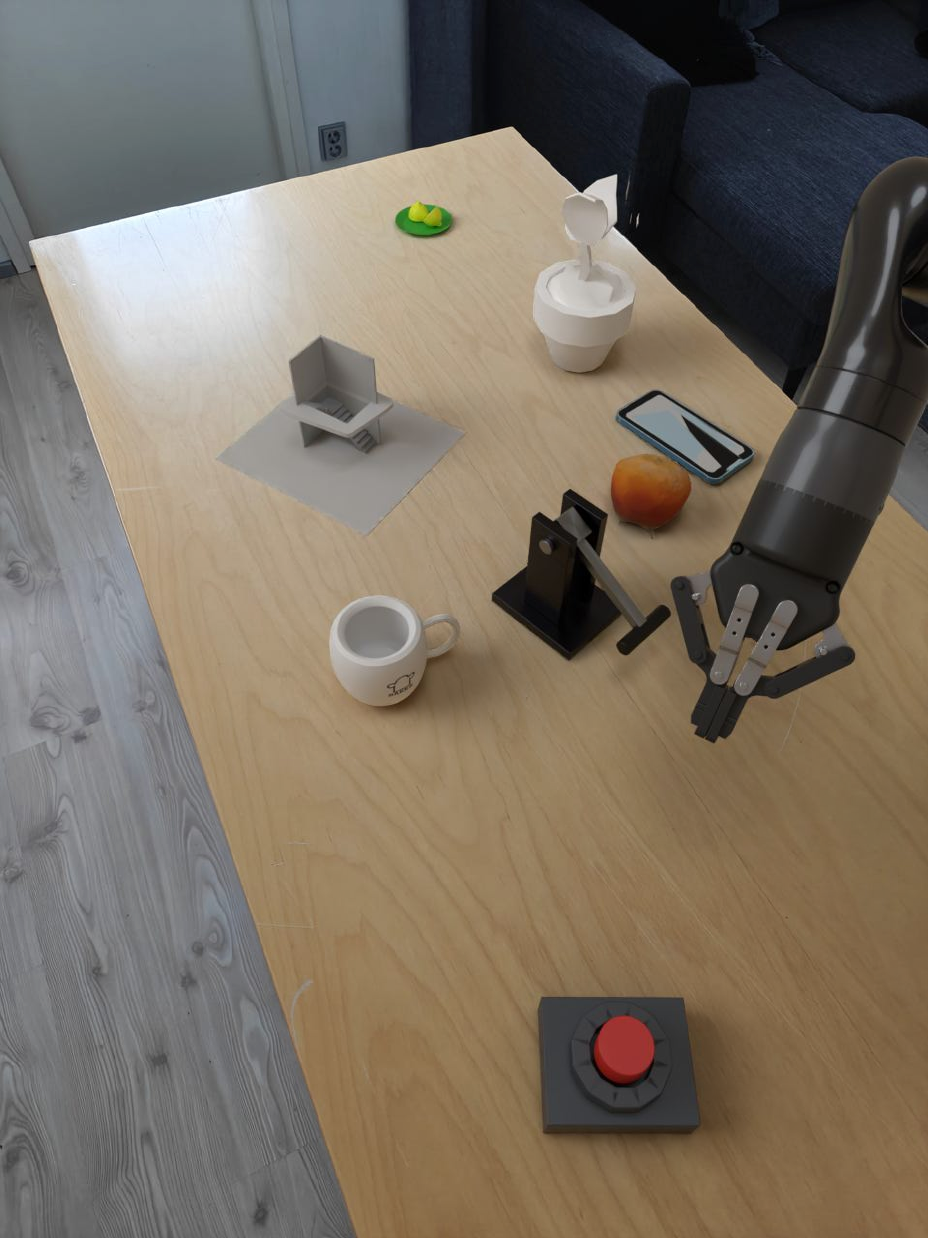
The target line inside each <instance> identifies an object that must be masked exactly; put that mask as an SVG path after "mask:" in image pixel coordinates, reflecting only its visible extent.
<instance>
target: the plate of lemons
mask: <svg viewBox="0 0 928 1238" xmlns="http://www.w3.org/2000/svg"><path fill="white" fill-rule="evenodd" d="M394 220H395V224H396V226H397V227H398V228H399V229H400V230H402V231H404V232H405V233H409V234H412V235H417V236H428V235H435V234H438V233H441V232H443V231H445V230H447V229H448V228H449V227H450V226H451V224H452V222H453V217H452V215H451V214H450V211H448V210H446V209H445V208H443V207H441V206H438V205H433V204H426V203H425V204H424V203H422V202H421V201H420V200H417V201H416V202H415V203H413V204H412V205H410V206H407V207H405V208H403V209H400V211H399V212H398V213H397V214H396V215H395V218H394Z"/></svg>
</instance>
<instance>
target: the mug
mask: <svg viewBox="0 0 928 1238" xmlns="http://www.w3.org/2000/svg"><path fill="white" fill-rule="evenodd" d="M440 623H447V624H449V625H450V626H451V634H450V636H449V638H448V639H447V640H446V642H445V643H443V644H441V645H440V646H438V647H435V648H432V649H428V637H427V633H426V629H428V628H431V627H432V626H434V625H436V624H440ZM460 634H461V626H460V622H459V621H458V619H457V618H455V617H454V616H453V615H451V614H447V613H441V614H435V615H432V616H431V617H428V618H426V619H424V620H422V618H421V617H420V615H419V614H418V613H417V612H416V610H415V609H413V608H412V606H410V605H409V604H408V603H407V602H405V601H404V600H402V599H400V598H397V597H394V596H390V595H383V594H374V595H368V596H364V597H360V598H358V599H355V600H353V601H352V602H350V603H348V604H347V605H346V606H344V607H343V608H342V609H341V610H340V612H339V613H338V614H337V616H336V617H335V619H334V621H333V622H332V625H331V627H330V631H329V644H328V649H329V657H330V663H331V665H332V669H333V671H334V674H335V676H336V678H337V680H338V681H339V683H340V685H341V686H342V687H343V688H344V689H345V691H346V692H347V693H348V695H350V696H351V697H353V698H355V700H357V701H359V702H360V703H362V704H365V705H368V706H373V707H388V706H393V705H395V704H398V703H400V702H402V701H403V700H405V699H407V698H408V697H409V696H410V695H411V694H412V693H413V692H414V691H415V689H417V687H418V685H419V684H420V682H421V680H422V678H423V676H424V672H425V670H426V667H427V661H428V659H430V658H435V657H438V656H441V655H443V654H444V653H446V652H448V651H450V650H451V649H452V648H453V647H454V646H455V645H456V643H457V642H458V640H459V638H460Z"/></svg>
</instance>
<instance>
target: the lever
mask: <svg viewBox="0 0 928 1238" xmlns="http://www.w3.org/2000/svg"><path fill="white" fill-rule="evenodd" d="M553 521H554V522H555V523H557V524H558V525H559V526H561V527H562V528H564V529H565V530H566V531H568V532H569V533H571V534H572V535H574V536H575V537H576V538H578V540H577V547H576V554H577V556H578V557H579V558H580V560H581V561H582V562H583V564H584V565H585V566H586V567H587V569H588V570H589V571H590V573H591V574H592V575H593V577H594V578H595V579H596V581H595V582H596V583H598V584H599V586H600V588H601V589H602V590H604V591H605V592H606V594H607V595H608V596H609V598H610V599H611V600H612V602H613V603H614V604H615V606H616V607H617V608H618V610H619V611H620V612H621V616H622V617H624V619H625V620H626V622H627V623H628V624H629V626H630V627H631V628H632V629H630V630H629V631H628V632H627V633H626V634H625V635H623V637H622V638H620V639H619V640H618V641H617V642H616V643H615V647H616V649H617V651H618V653H620V654H621V655H623V656H625V657H626V656H629V655H630V654H631V653H633V651H635V649H637V648H638V647H639V646H640V645H641V644H642V643H644V642H645V640H647V639H648V638H649V637H650V636H651V635H652V634H653V633H655V631H656V630H658V629H659V628H660V627H661V626H662V625H663V624H664V623H665V622H667V621H668V620H669V619H670V618H671V617H672V612H671V609H670V608H669V606H667V605H665V604H664V603H663V604H661V603H660V604H659V605H657V606H656V607H655V608H654V609H653V610H652V611H650V612H649V613H648V614H647V615H646V616H645V615H644V614H643V613H642V611H641V610H640V609H639V608H638V606H637V605H636V604H635V602H634V600H632V598H631V597H630V595H629V594H628V593H627V591H626V590H625V589H624V588H623V586H622V585H621V584H620V583H619V581H618V579H616V577H615V576H614V574H613V573H612V572H611V571H610V569H609V567H607V565H606V564H605V563H604V562H603V560H602V559H601V556H600V557H599V556H598V555H597V553H596V552H595V551H594V550H593V548H592V547H591V546H590V544H589V543H588V542H587V540H586V539H585V537H586V536H588V535H589V534H590V533H591V532H592V531H591V529H590V528H589V527H588V525H587V524H586V523H585V521H584V520H583V519H582V518H581V516H580V515H579V514H578V512H577V511H576V510H575V508H574V507H571V508H570V509H568V510H567V511H566V512H564V513H563V514H562V515H560V514H559V516H558V517H556V518H555V519H554V520H553Z"/></svg>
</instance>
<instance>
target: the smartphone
mask: <svg viewBox="0 0 928 1238" xmlns="http://www.w3.org/2000/svg"><path fill="white" fill-rule="evenodd" d="M615 418H616V421H617V422H618V423H619V424H621V425H622V426H624V427H625V428H627V429H628V430H630V431H632V432H633V433H634V434H636V435H637V436H639V437H640V438H642V439H643V440H645V441H646V442H648V443H649V444H651V445H652V446H654V447H655V448H656V449H658V450H660V451H661V452H662V453H664V455H667V456H668V457H669V458H671V459H672V460H674V461H675V462H677V463H679V464H680V465H681V466H682V467H684V468H686V469H687V470H689V471H690V472H692V473H693V474H695V475H696V476H698V477H699V478H701V479H702V480H704V481H705V482H706V483H709V484H713V485H714V484H715V485H716V484H720V483H721V482H723V481H724V480H726V479H727V478H729V477H731V476H732V475H733V474H734V473H736V472H738V470H740V469H741V468H743V467H744V466H746V465H747V464H749V463H750V462H751V461H753V459H754V457H755V454H756V453H755V450H754V448H753V447H751V446H749V445H748V444H747V443H745V442H744V441H742V440H740V439H738V437H735V436H734V435H732V434H731V433H729V432H728V431H727V430H725V429H723V428H721V427H720V426H718V425H717V424H715V423H714V422H712V421H710V420H709V419H707V418H706V417H704V416H703V415H701V414H699V413H698V412H696V411H695V410H693V409H691V408H690V407H688V406H687V405H685V404H683V402H680V401H679V400H677V399H676V398H674V397H673V396H671V395H669V394H668V393H666V392H665V391H663V390H661V389H656V388H655V389H651V390H649V391H647V392H646V393H644V394H642V395H640V396H639V397H637V398H635V399H634V400H632V401H630V402H629V403H627V404H626V405H624V406H623V407H621V408H619V409H618V410H617V412H616V417H615Z"/></svg>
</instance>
